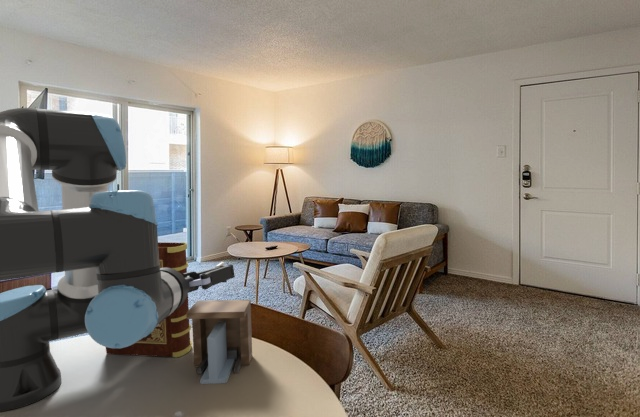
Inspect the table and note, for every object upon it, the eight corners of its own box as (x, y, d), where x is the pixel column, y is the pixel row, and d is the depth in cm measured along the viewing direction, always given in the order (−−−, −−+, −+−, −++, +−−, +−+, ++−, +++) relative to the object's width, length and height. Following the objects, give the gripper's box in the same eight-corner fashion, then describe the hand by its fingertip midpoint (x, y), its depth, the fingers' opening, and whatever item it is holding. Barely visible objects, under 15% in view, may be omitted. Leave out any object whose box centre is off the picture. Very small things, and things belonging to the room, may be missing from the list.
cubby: (189, 374, 93) (186, 312, 92) (200, 357, 102) (197, 300, 100) (246, 373, 93) (244, 311, 92) (252, 355, 102) (250, 299, 101)
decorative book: (195, 345, 109) (191, 242, 107) (182, 358, 101) (177, 247, 99) (123, 342, 112) (117, 241, 109) (105, 354, 104) (97, 246, 102)
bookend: (200, 383, 89) (198, 338, 88) (211, 362, 99) (210, 321, 98) (226, 383, 89) (224, 337, 88) (234, 362, 99) (233, 321, 98)
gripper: (79, 332, 59) (134, 301, 80) (240, 303, 61) (252, 281, 82) (71, 284, 59) (128, 266, 80) (233, 257, 61) (247, 246, 82)
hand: (191, 273), depth 81 cm, fingers open, 13 cm apart
